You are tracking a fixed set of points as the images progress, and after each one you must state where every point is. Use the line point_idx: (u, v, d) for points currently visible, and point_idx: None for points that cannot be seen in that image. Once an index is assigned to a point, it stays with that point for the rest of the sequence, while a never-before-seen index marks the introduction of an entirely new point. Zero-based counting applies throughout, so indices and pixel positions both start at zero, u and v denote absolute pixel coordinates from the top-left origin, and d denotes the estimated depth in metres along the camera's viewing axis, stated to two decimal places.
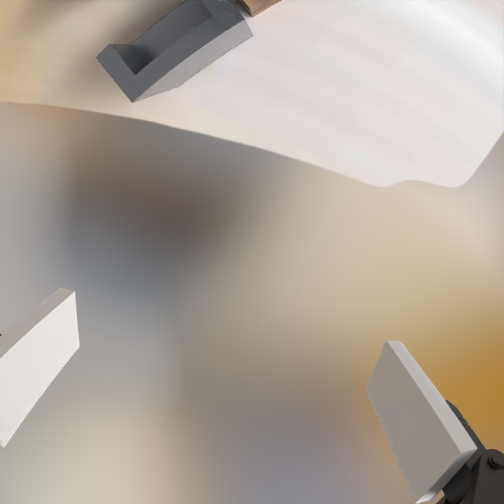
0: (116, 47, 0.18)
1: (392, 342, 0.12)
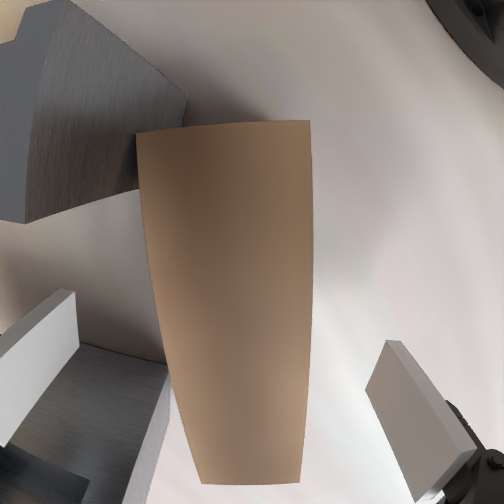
0: None
1: (392, 342, 0.12)
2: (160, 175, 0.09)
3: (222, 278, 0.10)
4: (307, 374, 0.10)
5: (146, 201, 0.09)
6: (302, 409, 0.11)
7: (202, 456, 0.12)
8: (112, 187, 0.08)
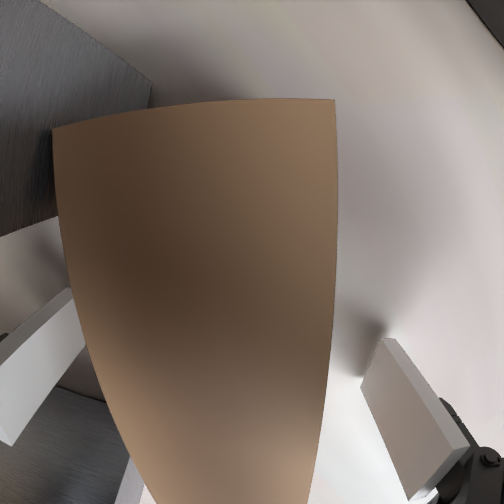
0: None
1: (386, 340, 0.12)
2: (86, 193, 0.05)
3: (188, 356, 0.06)
4: (313, 463, 0.07)
5: (68, 236, 0.05)
6: (304, 493, 0.07)
7: None
8: (5, 221, 0.04)
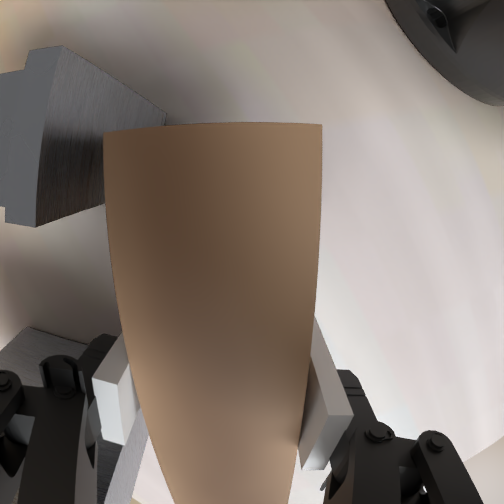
0: None
1: None
2: (130, 186, 0.07)
3: (203, 316, 0.08)
4: (300, 421, 0.09)
5: (113, 218, 0.07)
6: (292, 454, 0.09)
7: (181, 492, 0.10)
8: (101, 197, 0.09)
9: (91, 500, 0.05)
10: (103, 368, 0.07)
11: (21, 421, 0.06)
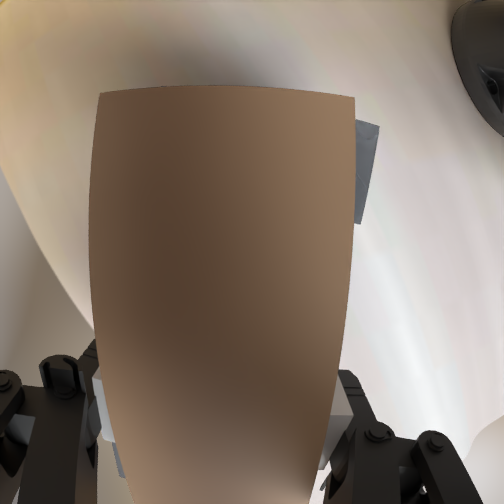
0: None
1: None
2: (124, 153, 0.05)
3: (201, 328, 0.06)
4: (316, 466, 0.06)
5: (97, 194, 0.05)
6: None
7: None
8: None
9: (91, 500, 0.05)
10: None
11: (21, 421, 0.06)
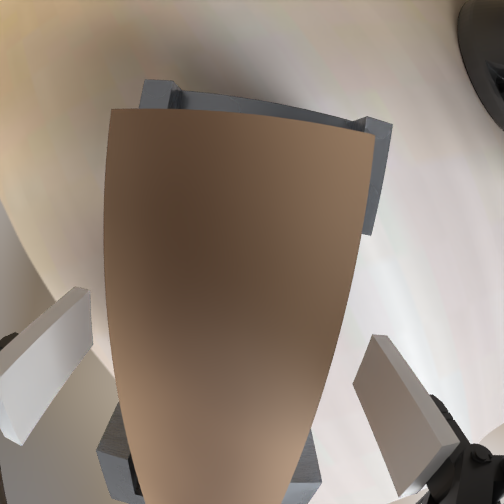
0: None
1: (378, 336, 0.12)
2: (138, 178, 0.06)
3: (208, 341, 0.06)
4: (298, 455, 0.08)
5: (111, 215, 0.06)
6: (283, 485, 0.08)
7: None
8: None
9: None
10: None
11: None
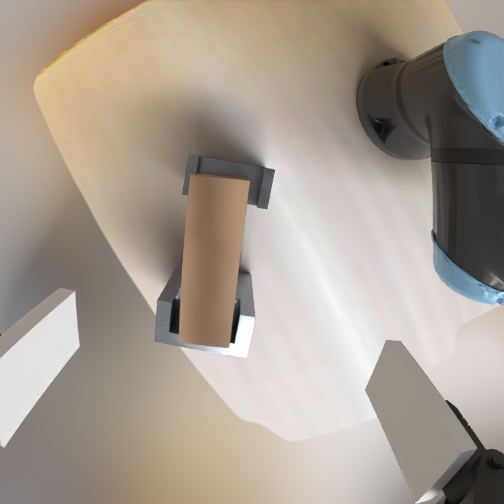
0: (172, 303, 0.32)
1: (392, 342, 0.12)
2: (196, 191, 0.26)
3: (211, 230, 0.27)
4: (237, 275, 0.28)
5: (189, 199, 0.26)
6: (233, 294, 0.29)
7: (184, 319, 0.29)
8: None
9: None
10: None
11: None
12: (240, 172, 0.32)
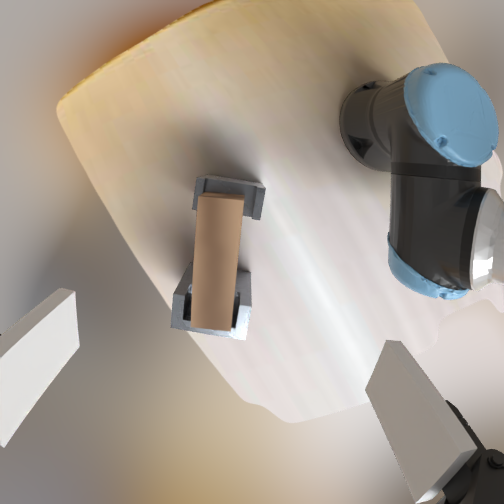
0: (185, 296, 0.40)
1: (392, 342, 0.12)
2: (203, 208, 0.34)
3: (215, 238, 0.35)
4: (235, 273, 0.36)
5: (198, 215, 0.34)
6: (233, 288, 0.37)
7: (195, 308, 0.37)
8: None
9: None
10: None
11: None
12: (238, 190, 0.40)
